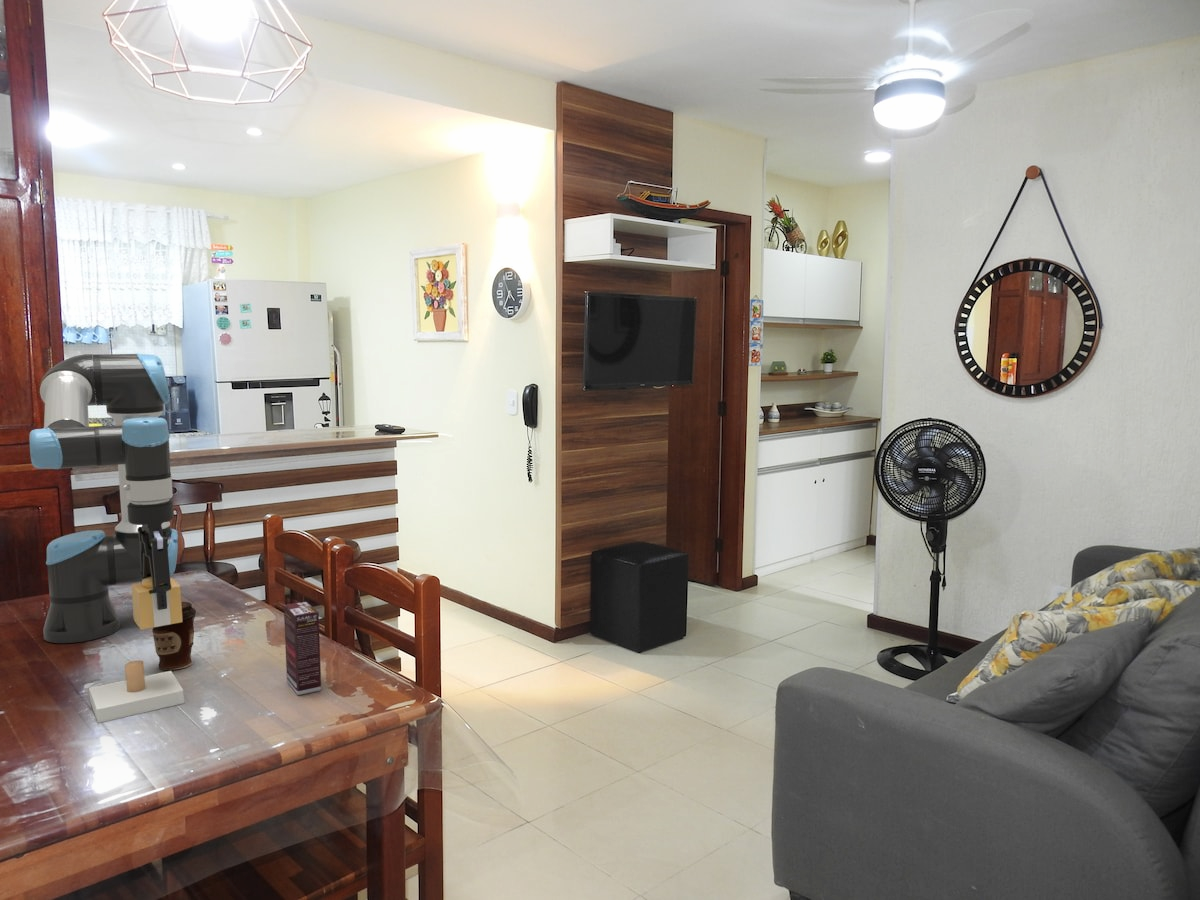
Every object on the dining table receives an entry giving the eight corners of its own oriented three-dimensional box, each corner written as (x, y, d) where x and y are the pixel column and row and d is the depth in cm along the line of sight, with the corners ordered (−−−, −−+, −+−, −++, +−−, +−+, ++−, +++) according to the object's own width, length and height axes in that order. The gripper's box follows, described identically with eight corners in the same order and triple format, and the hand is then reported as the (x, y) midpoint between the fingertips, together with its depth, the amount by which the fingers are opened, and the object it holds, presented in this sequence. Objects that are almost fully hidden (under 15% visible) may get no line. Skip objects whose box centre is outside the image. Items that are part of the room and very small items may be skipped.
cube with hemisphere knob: (133, 620, 160) (131, 578, 159) (174, 612, 164) (171, 572, 163) (141, 629, 154) (138, 586, 153) (182, 622, 159) (179, 579, 158)
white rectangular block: (90, 700, 158) (87, 662, 157) (171, 682, 167) (169, 646, 166) (97, 723, 149) (94, 682, 148) (184, 703, 157) (181, 664, 156)
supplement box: (322, 690, 163) (319, 611, 161) (297, 696, 160) (293, 616, 158) (310, 676, 170) (307, 600, 168) (285, 681, 167) (282, 604, 165)
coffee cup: (178, 675, 171) (174, 613, 169) (143, 672, 172) (138, 610, 171) (206, 659, 179) (203, 600, 177) (172, 656, 181) (168, 598, 179)
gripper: (118, 495, 162) (126, 610, 164) (137, 511, 146) (146, 638, 149) (161, 491, 166) (168, 603, 169) (184, 506, 151) (192, 629, 154)
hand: (157, 619), depth 159 cm, fingers closed on cube with hemisphere knob, 7 cm apart
